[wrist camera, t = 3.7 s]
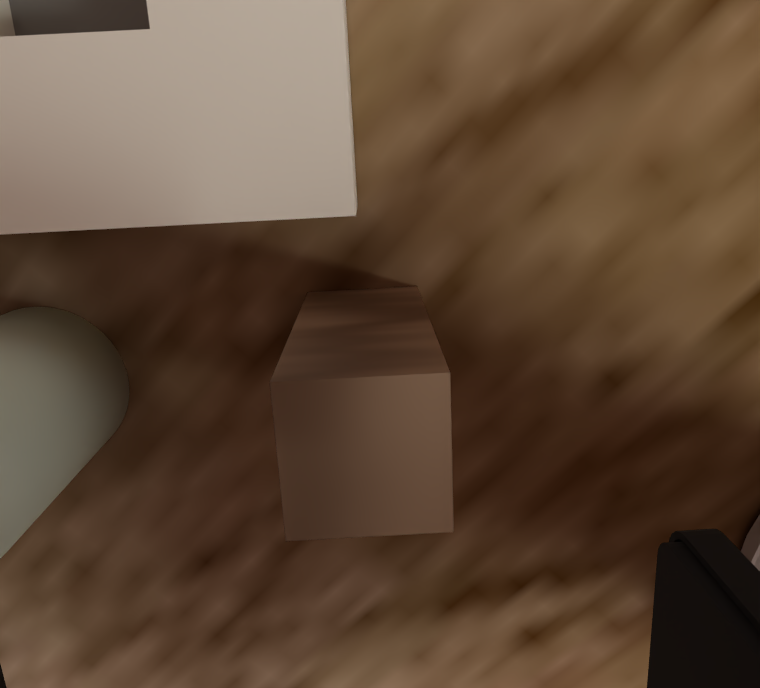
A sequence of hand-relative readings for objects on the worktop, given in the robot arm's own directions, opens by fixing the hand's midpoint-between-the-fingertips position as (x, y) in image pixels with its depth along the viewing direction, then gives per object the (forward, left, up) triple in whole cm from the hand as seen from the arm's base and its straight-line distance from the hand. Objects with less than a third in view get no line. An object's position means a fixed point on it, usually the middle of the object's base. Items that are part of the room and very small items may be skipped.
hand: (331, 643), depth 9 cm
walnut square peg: (0, 0, -16) cm, 16 cm away
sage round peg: (+12, +1, -16) cm, 20 cm away
